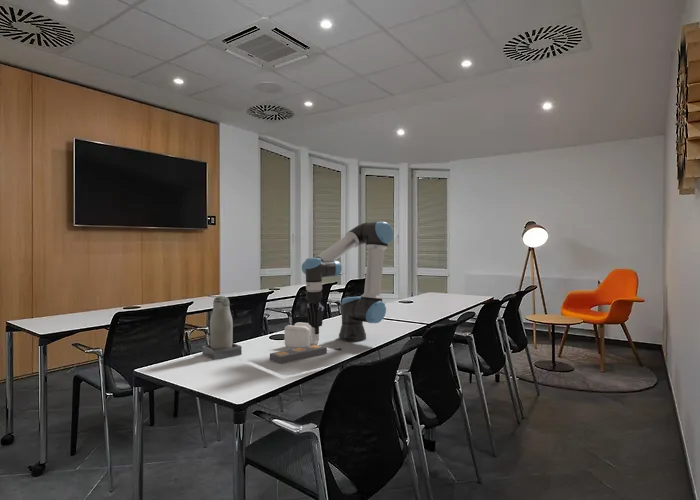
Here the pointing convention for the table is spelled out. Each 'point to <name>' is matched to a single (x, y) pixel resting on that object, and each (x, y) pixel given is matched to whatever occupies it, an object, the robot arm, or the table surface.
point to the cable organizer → (299, 335)
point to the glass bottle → (221, 324)
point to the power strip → (299, 354)
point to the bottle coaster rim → (221, 352)
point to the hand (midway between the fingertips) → (315, 340)
